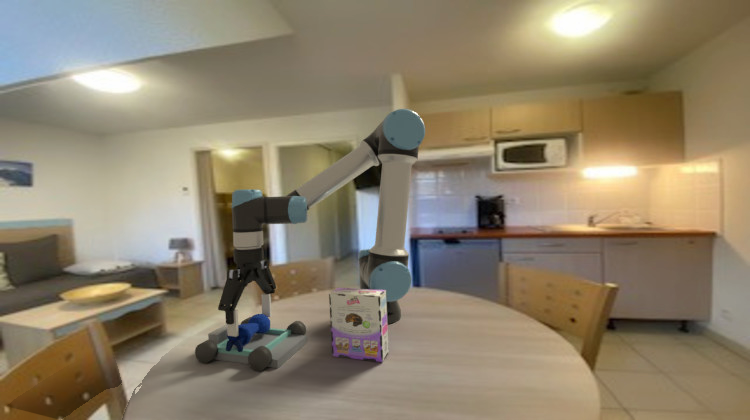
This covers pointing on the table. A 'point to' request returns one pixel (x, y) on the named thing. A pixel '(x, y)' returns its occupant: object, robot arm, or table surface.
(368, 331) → the candy box
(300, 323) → the chassis
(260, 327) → the toy
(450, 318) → the table surface
